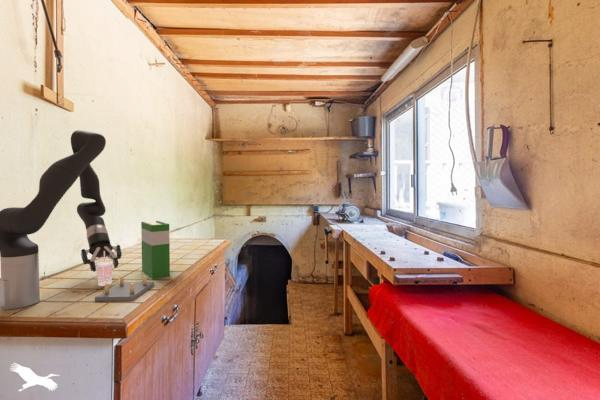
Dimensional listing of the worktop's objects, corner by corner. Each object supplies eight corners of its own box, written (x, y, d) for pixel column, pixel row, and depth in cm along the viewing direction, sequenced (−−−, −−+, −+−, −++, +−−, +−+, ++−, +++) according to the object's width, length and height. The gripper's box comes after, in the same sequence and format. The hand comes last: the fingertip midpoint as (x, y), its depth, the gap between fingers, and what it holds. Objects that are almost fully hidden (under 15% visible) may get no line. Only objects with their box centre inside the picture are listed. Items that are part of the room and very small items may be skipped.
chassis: (132, 300, 98) (132, 286, 98) (94, 301, 98) (94, 287, 98) (154, 285, 114) (154, 273, 114) (121, 285, 114) (121, 273, 114)
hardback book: (141, 270, 135) (141, 221, 135) (158, 267, 140) (157, 220, 140) (152, 279, 122) (151, 225, 122) (169, 275, 127) (169, 224, 127)
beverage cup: (115, 281, 120) (114, 248, 119) (111, 285, 114) (111, 251, 114) (98, 282, 117) (97, 250, 117) (93, 287, 112) (93, 253, 111)
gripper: (78, 233, 115) (85, 267, 107) (118, 230, 125) (127, 260, 118) (76, 244, 119) (82, 277, 111) (115, 240, 129) (123, 270, 122)
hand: (105, 268), depth 115 cm, fingers open, 7 cm apart
